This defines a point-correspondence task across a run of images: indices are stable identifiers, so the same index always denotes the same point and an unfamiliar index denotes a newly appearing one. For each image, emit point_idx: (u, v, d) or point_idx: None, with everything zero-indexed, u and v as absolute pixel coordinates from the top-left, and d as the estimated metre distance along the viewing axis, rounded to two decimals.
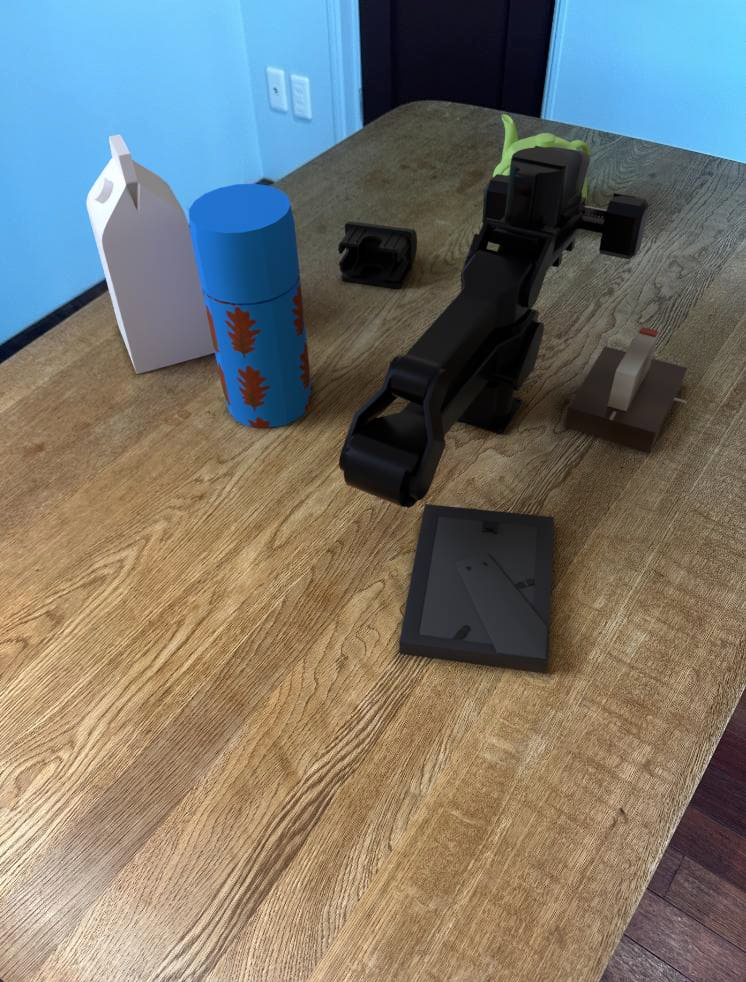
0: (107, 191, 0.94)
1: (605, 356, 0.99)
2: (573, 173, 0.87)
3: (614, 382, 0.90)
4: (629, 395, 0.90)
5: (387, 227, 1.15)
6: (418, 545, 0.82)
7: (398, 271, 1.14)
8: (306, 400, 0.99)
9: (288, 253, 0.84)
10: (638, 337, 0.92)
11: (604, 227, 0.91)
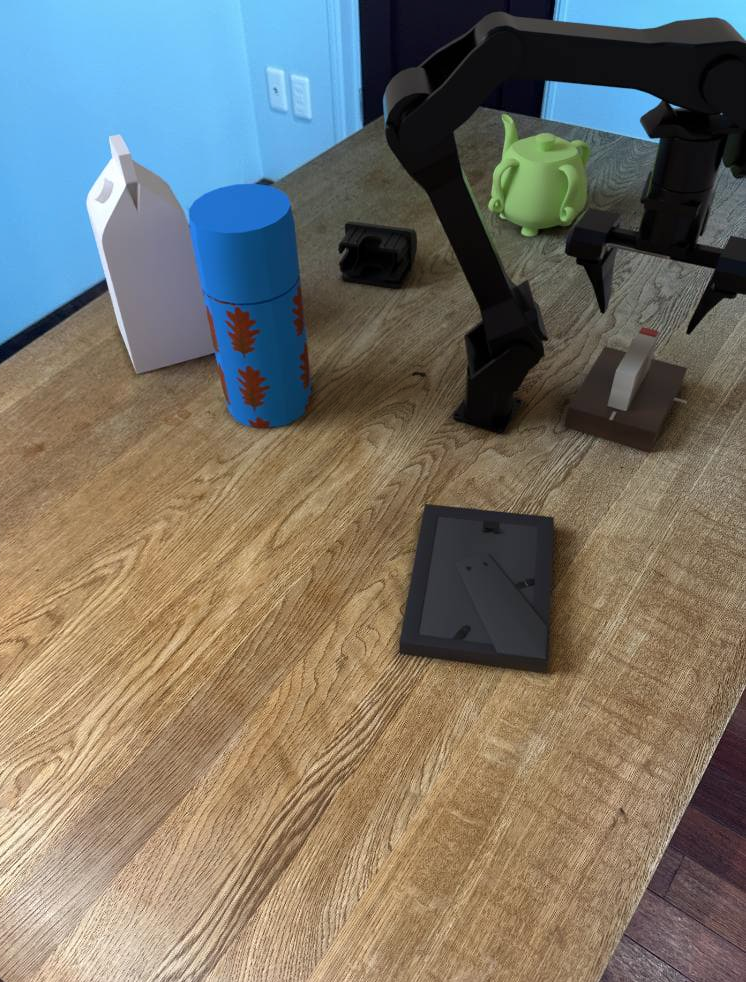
0: (107, 191, 0.94)
1: (605, 356, 0.99)
2: None
3: (614, 382, 0.90)
4: (629, 395, 0.90)
5: (387, 227, 1.15)
6: (418, 545, 0.82)
7: (398, 271, 1.14)
8: (306, 400, 0.99)
9: (288, 253, 0.84)
10: (638, 337, 0.92)
11: (728, 244, 0.79)
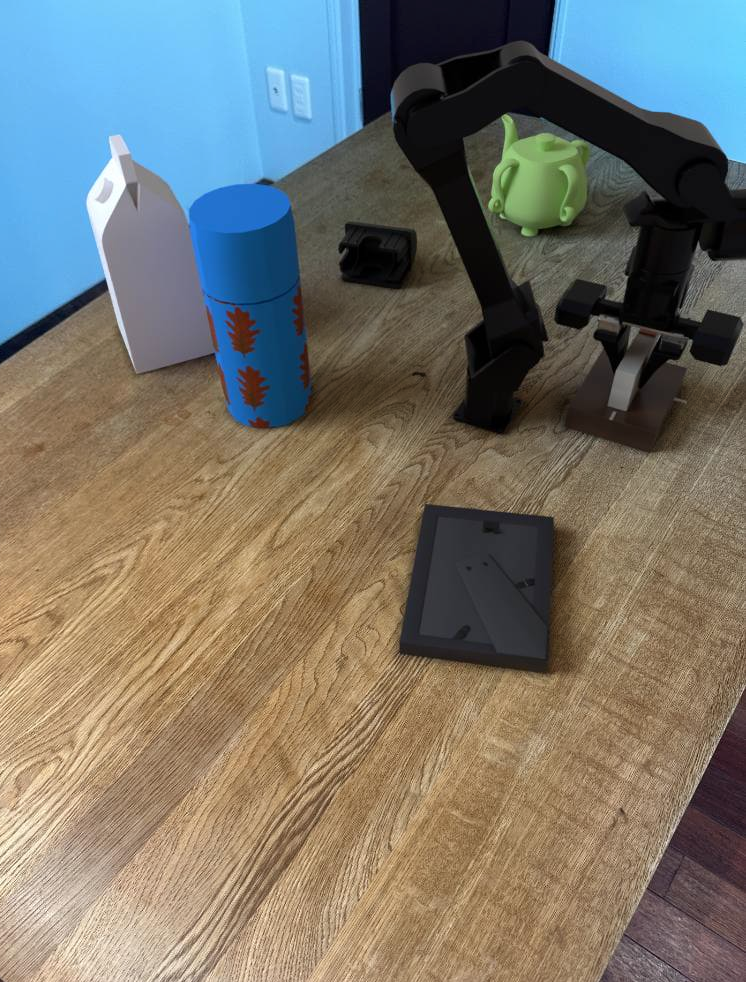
0: (107, 191, 0.94)
1: (605, 356, 0.99)
2: None
3: (614, 382, 0.90)
4: (629, 395, 0.90)
5: (387, 227, 1.15)
6: (418, 545, 0.82)
7: (398, 271, 1.14)
8: (306, 400, 0.99)
9: (288, 253, 0.84)
10: (638, 337, 0.92)
11: (705, 318, 0.85)
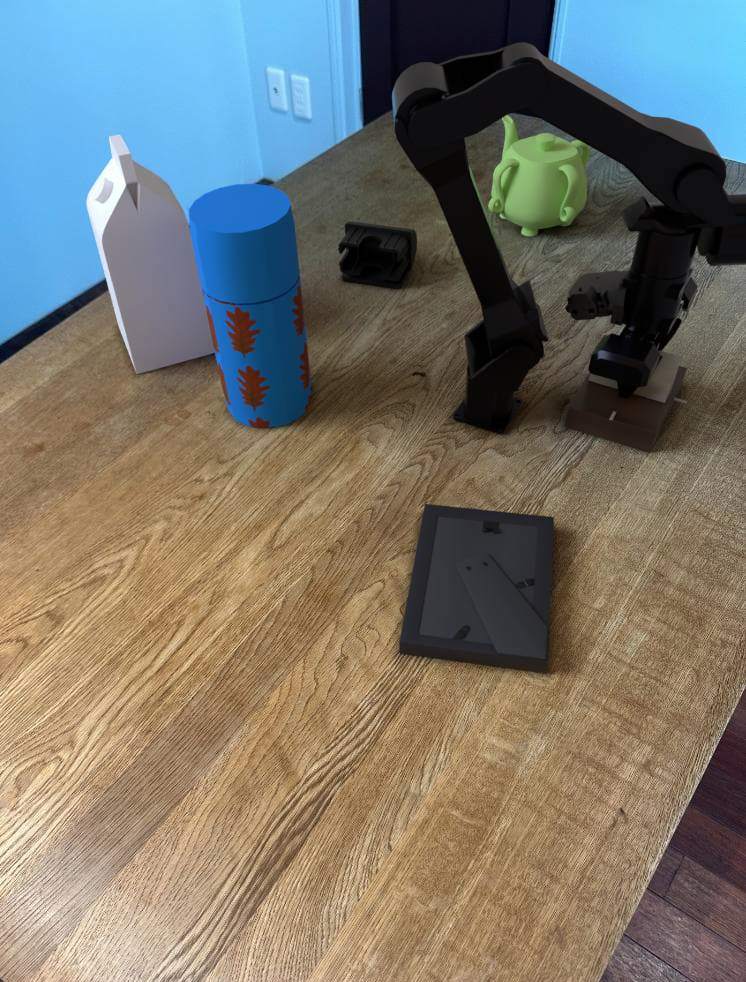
0: (107, 191, 0.94)
1: None
2: (598, 274, 0.89)
3: (672, 378, 0.90)
4: None
5: (387, 227, 1.15)
6: (418, 545, 0.82)
7: (398, 271, 1.14)
8: (306, 400, 0.99)
9: (288, 253, 0.84)
10: None
11: None
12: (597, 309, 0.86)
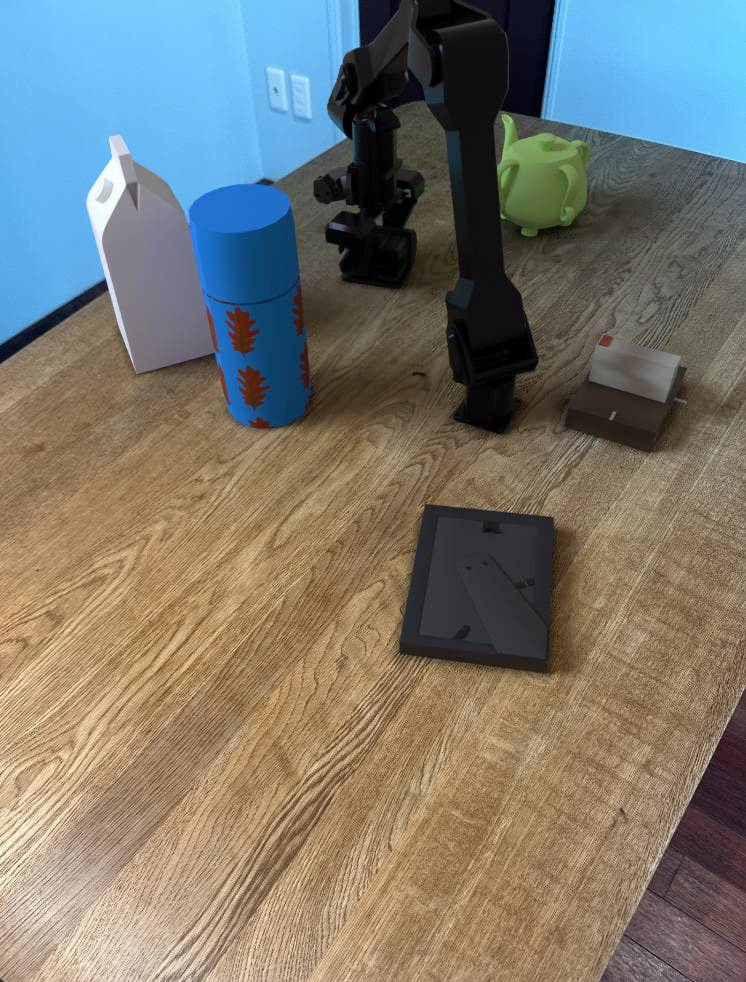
0: (107, 191, 0.94)
1: None
2: (340, 168, 1.13)
3: (672, 378, 0.90)
4: None
5: (387, 227, 1.15)
6: (418, 545, 0.82)
7: (398, 271, 1.14)
8: (306, 400, 0.99)
9: (288, 253, 0.84)
10: (615, 348, 0.91)
11: None
12: (332, 192, 1.10)
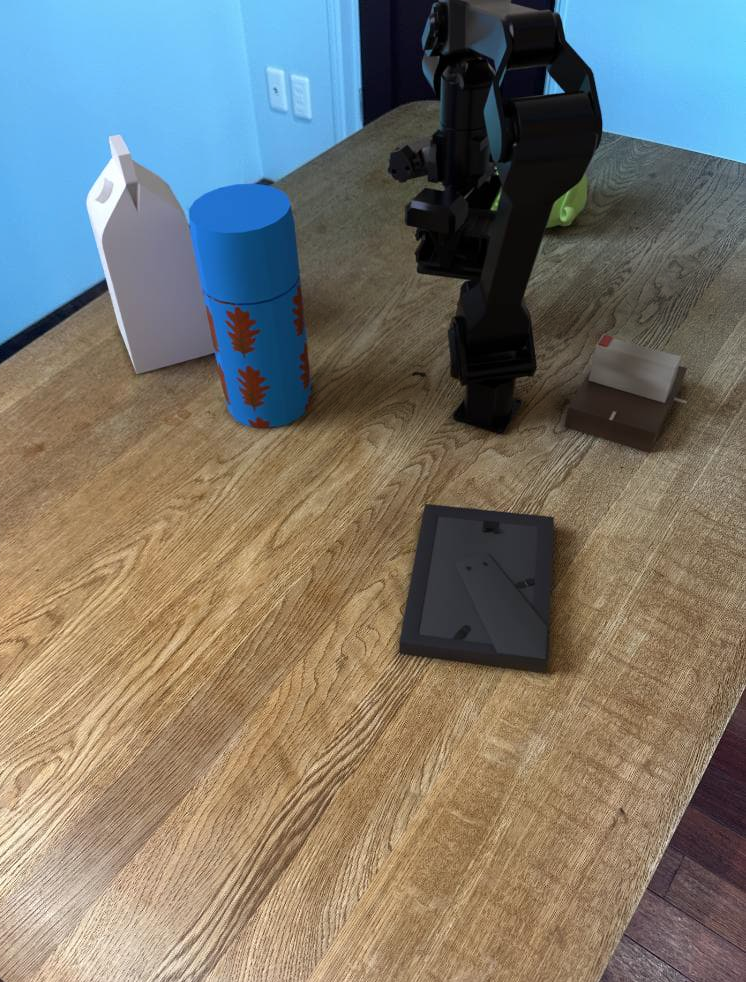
0: (107, 191, 0.94)
1: None
2: (419, 139, 0.95)
3: (672, 378, 0.90)
4: None
5: (473, 210, 0.97)
6: (418, 545, 0.82)
7: None
8: (306, 400, 0.99)
9: (288, 253, 0.84)
10: (615, 348, 0.91)
11: None
12: (413, 167, 0.92)
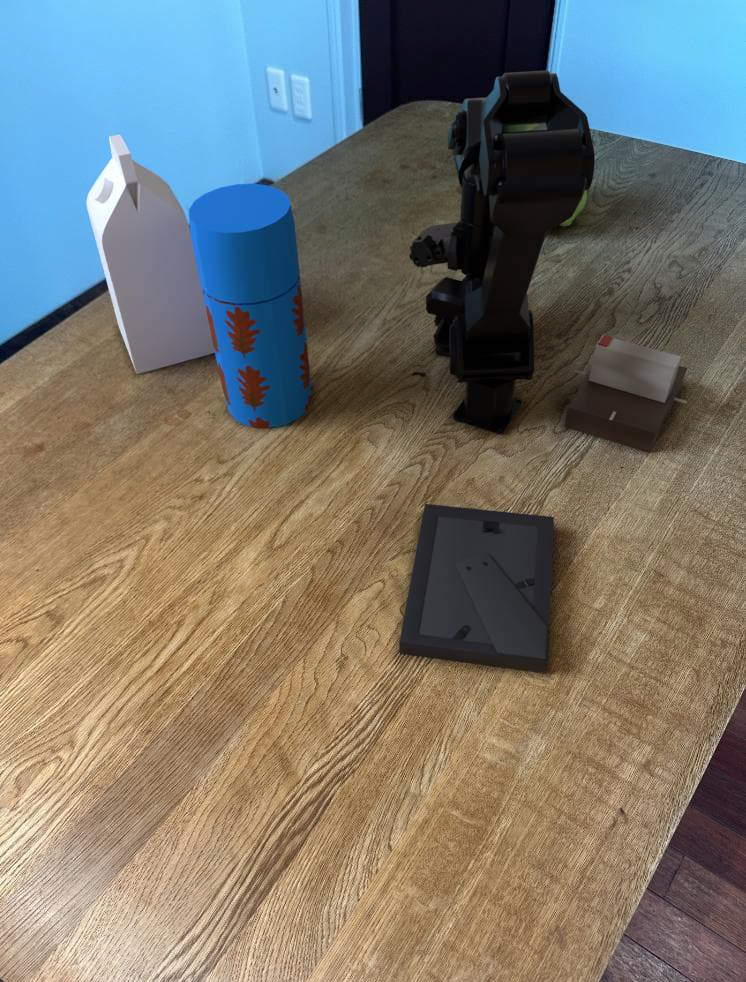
0: (107, 191, 0.94)
1: None
2: (439, 226, 1.00)
3: (672, 378, 0.90)
4: None
5: None
6: (418, 545, 0.82)
7: None
8: (306, 400, 0.99)
9: (288, 252, 0.84)
10: (615, 348, 0.91)
11: None
12: (434, 256, 0.96)
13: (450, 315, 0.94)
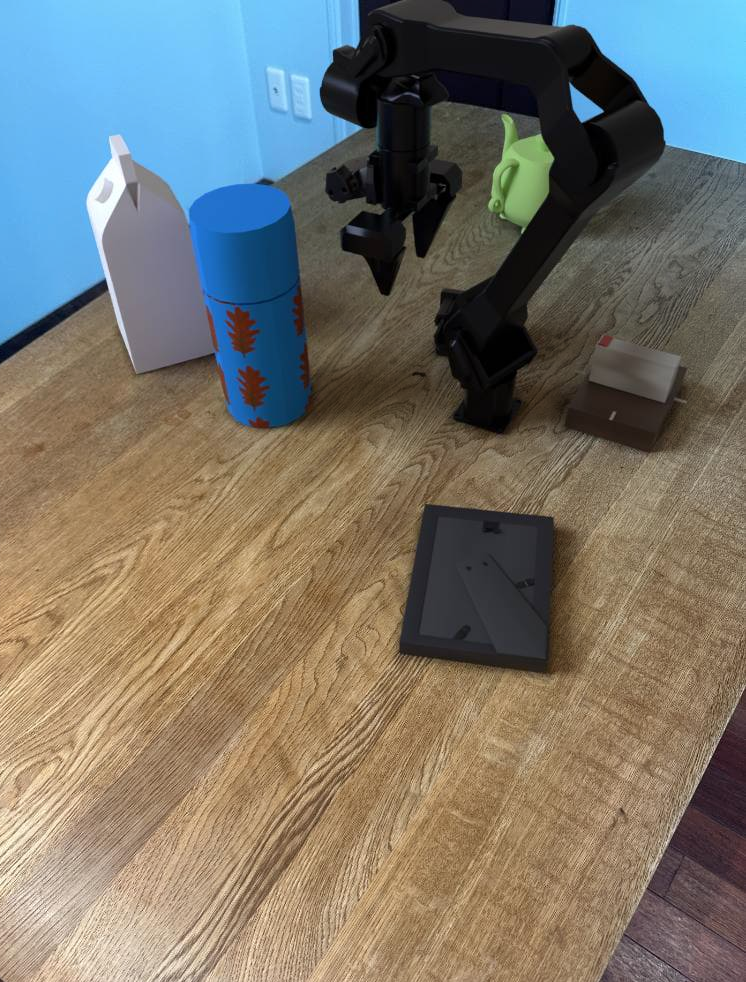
0: (107, 191, 0.94)
1: None
2: (359, 158, 0.91)
3: (672, 378, 0.90)
4: None
5: None
6: (418, 545, 0.82)
7: None
8: (306, 400, 0.99)
9: (288, 252, 0.84)
10: (615, 348, 0.91)
11: None
12: (350, 188, 0.88)
13: (366, 252, 0.85)
